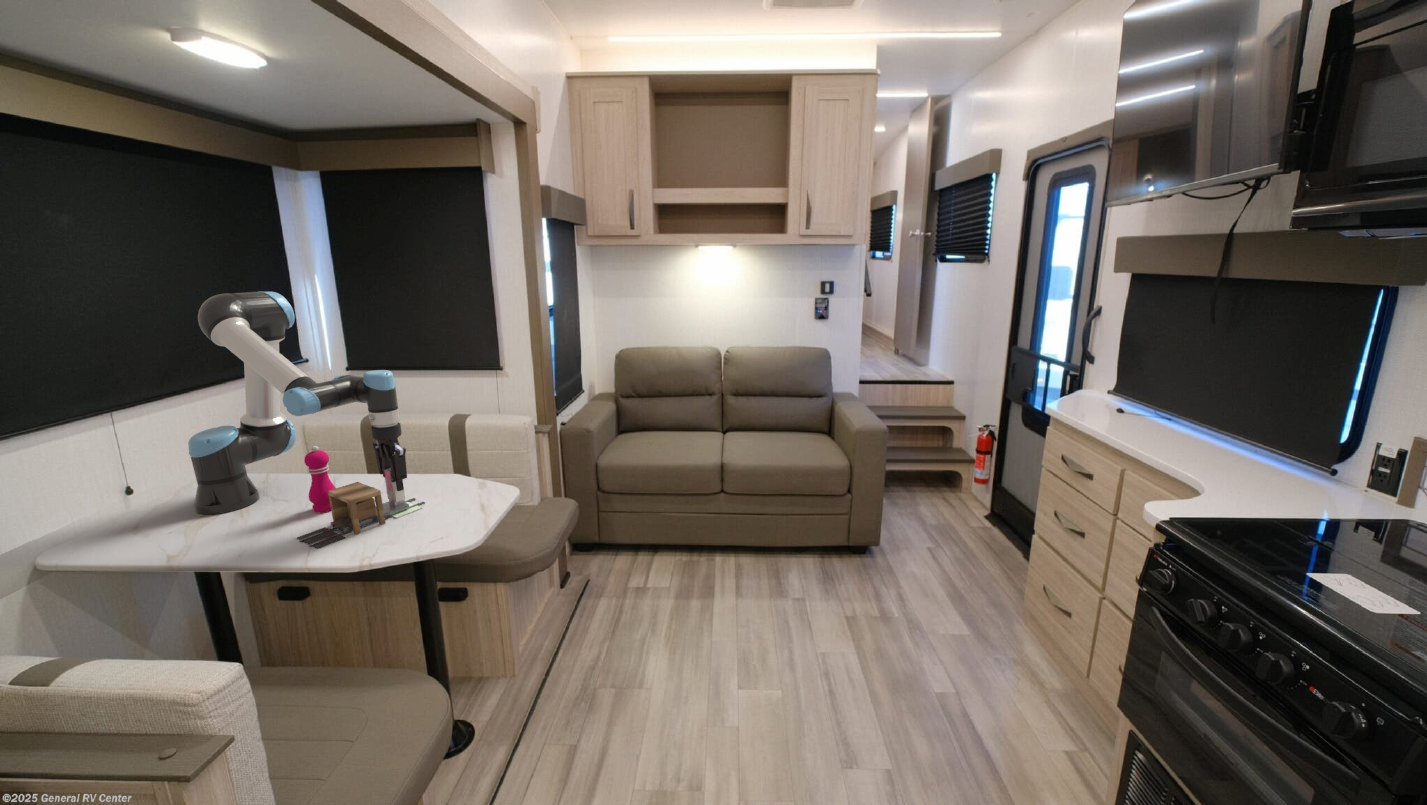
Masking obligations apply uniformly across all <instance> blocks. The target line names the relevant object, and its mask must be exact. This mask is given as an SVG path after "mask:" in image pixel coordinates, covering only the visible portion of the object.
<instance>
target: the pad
mask: <svg viewBox="0 0 1427 805" xmlns="http://www.w3.org/2000/svg"><path fill="white" fill-rule="evenodd" d="M406 503H407V504H409V507H410V506H413V505H415V503H411V502H406ZM422 509H423V507H422V506H421V505H420V506H415V507H412V508H409V509H407V510H404V511H402V512H399V513H396V514H394V515H391V517H392V518H395V519H399V518H401V517H403V516H406V515H410V514H411V513H414V512H416V511H419V510H422Z"/></svg>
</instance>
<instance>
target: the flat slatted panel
mask: <svg viewBox="0 0 1427 805" xmlns="http://www.w3.org/2000/svg"><path fill="white" fill-rule="evenodd" d="M328 529H329V528H327V527H325V526H324V527H322V528H319V529H316V530H313V531H310V532H308V533H305V534H302V535H300V536H297V537H296V539H297V540H301V539H303V538H306V537H309V536H312V535H314V534H317V533H320V532H322V531H325V530H328ZM336 534H339V533H338V532H336V531H335V530H333V531H332V530H330V531H328V532H325V533H322V534H320V535H317V536H314V537H312V538H309V539H306V540H303V542H302V543H305V544H307V545H309V544H312V543H315V542H317V541H320V540H323V539H325V538H328V537H331V536H333V535H336ZM346 538H347V537H346V536H345V535H339V536H336V537H333V538H331V539H328V540H325V541H323V542H320V543H318V544H315V545H312V546H313V548H315V549H317V550H319V549H321V548H324V547H326V546H327V547H328V546H329V545H331V544H333V543H337V542H339V541H342V540H345V539H346Z"/></svg>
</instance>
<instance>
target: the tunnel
mask: <svg viewBox="0 0 1427 805" xmlns="http://www.w3.org/2000/svg"><path fill="white" fill-rule="evenodd" d="M328 495H329V500H330V506H331V511H330V512H331V516H332V522H333V521H336V520H338V519H341V518H344V517H347V516H349V513H348V507H347V503H349V507H350V513H351V519H352V525H353V531H352V532H353V534H354V535H356V536H357V535H359V534H361V533H362V531H361V528H360V525H359V519H358V513H357V507H356V503H357V502H360V501H363V500H366V499H369V498H374V501H375V506H376V509H377V515H378V525H380V526H383V525H385V524H386V519H385V517H384V511H383V498H382V492H381V490H380V489H378V488H375V487H372V486H370V485H368V484H367V485H366V484H365V483H362V482H359V481H355V482H353V483H349V484H345V485H343V486H340V487H337V488H336V489H333V490H330V491H328Z"/></svg>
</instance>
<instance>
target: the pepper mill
mask: <svg viewBox="0 0 1427 805" xmlns="http://www.w3.org/2000/svg"><path fill="white" fill-rule="evenodd" d="M310 450H311V451H309V452H308V453H306V455H305V456H304V462H303V463H304V464H305V466H307V467H308V468H307V470H308V473H309V474H310V476H311V485H310V488H309V492H308V500H309V502H310V503H312V505H311V506H312V510H313V512H314V513H316V514H325V513H329V512H332V511H331V506H330V500H329V495H328V491H330V490H333V489H336V486H335V485H334V484H333V482H332V481H331V479H330V477H329V470H330V467H329V464H328V463H329V462H330V456H329V454H328V453H327V452H326V451H324V450H320V448H319V446H317V445H313V446H311V448H310Z"/></svg>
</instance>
